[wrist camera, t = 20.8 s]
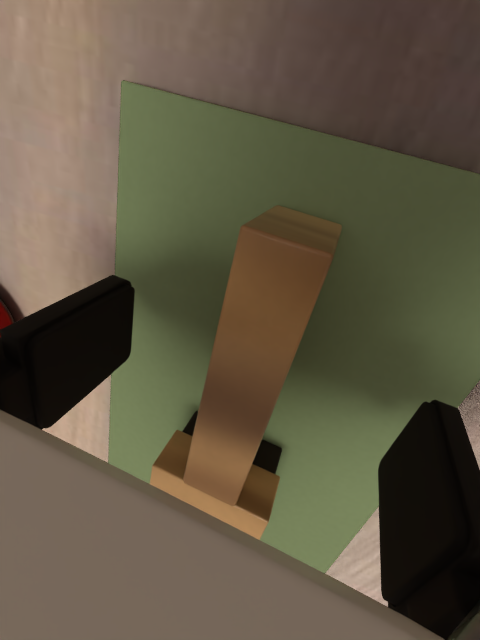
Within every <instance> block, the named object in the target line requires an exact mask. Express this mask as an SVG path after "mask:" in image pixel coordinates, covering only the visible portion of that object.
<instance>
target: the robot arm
mask: <svg viewBox="0 0 480 640" xmlns="http://www.w3.org/2000/svg"><path fill="white" fill-rule="evenodd" d="M134 297H135V289H134V288H133V287H132V285H131V282H130V281H128V280H126V279H123V278H120V277H118V276H115V275H111V276H109V277H107V278H105V279H103V280H101V281H99V282H97V283H95V284H93V285H90V286H88V287H86V288H84V289H82V290H80V291H78V292H76V293H74V294H72V295H70V296H68V297H66V298H64V299H62V300H60V301H58V302H56V303H54V304H52V305H50V306H48V307H45V308H43V309H41V310H39V311H37V312H35V313H33V314H31V315H29V316H27V317H25V318H23V319H21V320H19V321H17V322H15V323H13V324H11V325H9V326H7V327H5V328H3V329H0V335H1V337H0V640H480V470H479V467H478V464H477V461H476V458H475V455H474V452H473V449H472V446H471V444H470V441H469V438H468V435H467V432H466V429H465V426H464V423H463V421H462V418H461V415H460V412H459V410H458V408H456V407H454V406H451V405H448V404H446V403H443V402H441V401H438V400H432V401H431V402H430V403H429V402H426V401H425V402H423V403H422V404H421V405H420V407H419V408H418V409H417V411H416V412H415V414H414V415H413V416H412V418H411V419H410V421H409V422H408V423H407V425H406V426H405V427H404V429H403V430H402V432H401V433H400V434H399V436H398V437H397V438H396V440H395V441H394V443H393V444H392V445H391V447H390V448H389V449H388V451H387V452H386V454H385V455H384V456H383V458H382V459H381V461H380V464H379V467H378V490H379V524H380V559H381V591H382V596H383V599H384V600H386V601H388V607H387V606H385V605H383V604H381V603H379V602H377V601H375V600H373V599H372V598H370V597H368V596H366V595H364V594H362V593H360V592H359V591H357V590H355V589H353V588H351V587H349V586H347V585H345V584H344V583H342V582H340V581H338V580H336V579H334V578H332V577H330V576H328V575H326V574H324V573H323V572H321V571H319V570H317V569H315V568H313V567H311V566H309V565H307V564H305V563H303V562H301V561H299V560H297V559H295V558H293V557H291V556H289V555H288V554H286V553H284V552H282V551H280V550H278V549H276V548H274V547H272V546H270V545H268V544H266V543H264V542H262V541H260V540H258V539H256V538H254V537H253V536H251V535H249V534H247V533H245V532H243V531H241V530H239V529H237V528H235V527H233V526H231V525H229V524H227V523H225V522H223V521H221V520H219V519H217V518H215V517H213V516H212V515H210V514H208V513H206V512H204V511H202V510H200V509H198V508H196V507H194V506H192V505H190V504H188V503H186V502H184V501H182V500H180V499H178V498H176V497H174V496H172V495H170V494H168V493H166V492H164V491H162V490H160V489H158V488H156V487H154V486H152V485H150V484H149V483H147V482H145V481H143V480H141V479H139V478H137V477H135V476H133V475H131V474H129V473H127V472H125V471H123V470H121V469H119V468H117V467H115V466H113V465H111V464H109V463H107V462H105V461H103V460H101V459H99V458H97V457H95V456H93V455H91V454H89V453H87V452H85V451H83V450H81V449H79V448H77V447H75V446H73V445H71V444H69V443H67V442H65V441H63V440H61V439H59V438H57V437H55V436H53V435H51V434H49V433H47V432H45V431H43V430H42V429H43V428H49V427H51V426H52V425H53V424H54V423H56V422H57V421H58V420H59V419H60V418H61V417H62V416H64V415H65V414H66V413H67V412H68V411H69V410H71V409H72V408H73V407H74V406H75V405H76V404H77V403H79V402H80V401H81V400H82V399H83V398H84V397H85V396H87V395H88V394H89V393H90V392H91V391H92V390H93V389H95V388H96V387H97V386H98V385H99V384H100V383H101V382H103V381H104V380H105V379H106V378H107V377H108V376H109V375H111V374H112V373H113V372H114V371H115V370H116V369H118V368H119V367H120V366H121V365H122V364H123V363H124V362H126V360H127V359H128V358H129V356H130V353H131V345H132V329H133V313H134Z"/></svg>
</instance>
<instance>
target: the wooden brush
mask: <svg viewBox="0 0 480 640" xmlns="http://www.w3.org/2000/svg"><path fill="white" fill-rule="evenodd" d="M341 230H342V226H341V225H340V224H337V223H334V222H331V221H328V220H324V219H321V218H318V217H315V216H312V215H308V214H305V213H302V212H299V211H295V210H292V209H289V208H286V207H282V206H279V205H276V206H274V207H273V208H271V209H269V210H267V211H266V212H264V213H262V214H261V215H259V216H257V217H255V218H254V219H252V220H250V221H249V222H247V223H245V224H243V225H242V226H241V228H240V231H239V235H238V240H237V244H236V249H235V253H234V257H233V262H232V266H231V270H230V275H229V279H228V284H227V288H226V292H225V297H224V301H223V305H222V310H221V314H220V319H219V323H218V327H217V332H216V336H215V340H214V345H213V349H212V354H211V358H210V362H209V367H208V371H207V375H206V380H205V384H204V389H203V393H202V397H201V402H200V406H199V411H195V413H194V414H193V416H192V417H191V419H190V420H189V422H188V423H187V425H186V426H185V428H184V430H183V431H179V430H176V431H175V433H174V434H173V436H172V437H171V439H170V440H169V441H168V443H167V444H166V446H165V447H164V449H163V450H162V452H161V453H160V455H159V456H158V458H157V459H156V461H155V462H154V464H153V465H152V471H151V478H150V485H152V486H154V487H156V488H158V489H160V490H162V491H164V492H166V493H168V494H170V495H172V496H174V497H176V498H178V499H180V500H182V501H184V502H186V503H188V504H190V505H192V506H194V507H196V508H198V509H200V510H202V511H204V512H206V513H208V514H210V515H212V516H213V517H215V518H217V519H219V520H221V521H223V522H225V523H227V524H229V525H231V526H233V527H235V528H237V529H239V530H241V531H243V532H245V533H247V534H249V535H251V536H253V537H254V538H256V539H258V540H260V538H261V536H262V534H263V532H264V530H265V528H266V526H267V525H268V523H269V520H270V516H271V512H272V508H273V504H274V500H275V496H276V492H277V489H278V485H279V481H280V476H278V475H276V471H277V467H278V463H279V460H280V456H281V452H282V448H281V447H278V446H276V445H274V444H271V443H269V442H267V441H265V440H262V438H263V435H264V433H265V430H266V428H267V425H268V423H269V420H270V418H271V415H272V413H273V410H274V407H275V405H276V402H277V400H278V397H279V395H280V392H281V390H282V387H283V385H284V382H285V380H286V377H287V374H288V372H289V369H290V367H291V364H292V362H293V359H294V357H295V354H296V352H297V349H298V347H299V344H300V341H301V339H302V336H303V334H304V331H305V329H306V326H307V324H308V321H309V319H310V316H311V314H312V311H313V309H314V306H315V303H316V301H317V298H318V296H319V293H320V291H321V288H322V286H323V283H324V281H325V278H326V276H327V273H328V270H329V268H330V265H331V263H332V260H333V258H334V254H335V251H336V247H337V244H338V240H339V237H340V234H341Z"/></svg>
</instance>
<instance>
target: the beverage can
mask: <svg viewBox="0 0 480 640" xmlns="http://www.w3.org/2000/svg"><path fill="white" fill-rule="evenodd" d="M13 323H15V322H14V320H13V318H12V316H11V314H10V312H9V310H8V309H7V307H6V306H5V304H4V303H3V302H2V300H1V299H0V329H3V328H5V327H7V326H9V325H11V324H13ZM0 337H1V335H0Z"/></svg>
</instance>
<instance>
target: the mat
mask: <svg viewBox="0 0 480 640" xmlns="http://www.w3.org/2000/svg"><path fill="white" fill-rule="evenodd" d="M276 205H279V206H282V207H286V208H289V209H292V210H295V211H299V212H302V213H305V214H308V215H312V216H315V217H318V218H321V219H324V220H328V221H331V222H334V223H337V224H340V225H341V226H342V230H341V234H340V237H339V240H338V244H337V247H336V251H335V254H334V258H333V260H332V263H331V265H330V268H329V270H328V273H327V276H326V278H325V281H324V283H323V286H322V288H321V291H320V293H319V296H318V298H317V301H316V303H315V306H314V309H313V311H312V314H311V316H310V319H309V321H308V324H307V326H306V329H305V331H304V334H303V336H302V339H301V341H300V344H299V347H298V349H297V352H296V354H295V357H294V359H293V362H292V364H291V367H290V369H289V372H288V374H287V377H286V380H285V382H284V385H283V387H282V390H281V392H280V395H279V397H278V400H277V402H276V405H275V407H274V410H273V413H272V415H271V418H270V420H269V423H268V425H267V428H266V430H265V433H264V435H263V438H262V440H265V441H267V442H269V443H271V444H274V445H276V446H278V447H281V448H282V452H281V456H280V460H279V463H278V467H277V471H276V475H278V476H280V481H279V485H278V489H277V492H276V496H275V500H274V504H273V508H272V512H271V516H270V520H269V523H268V525H267V526H266V528H265V530H264V532H263V534H262V536H261V538H260V541H262V542H264V543H266V544H268V545H270V546H272V547H274V548H276V549H278V550H280V551H282V552H284V553H286V554H288V555H289V556H291V557H293V558H295V559H297V560H299V561H301V562H303V563H305V564H307V565H309V566H311V567H313V568H315V569H317V570H319V571H321V572H323V573H324V574H325V573H326V571H327V570H328V569H329V568H330V566H331V565H332V564H333V563H334V561H335V560H336V559H337V558H338V556H339V555H340V554H341V553H342V551H343V550H344V549H345V548H346V546H347V545H348V544H349V543H350V541H351V540H352V539H353V538H354V536H355V535H356V534H357V533H358V531H359V530H360V529H361V528H362V526H363V525H364V524H365V523H366V521H367V520H368V519H369V518H370V516H371V515H372V514H373V513H374V511H375V510H376V509H377V508H378V506H379V490H378V467H379V464H380V461H381V459H382V458H383V456H384V455H385V454H386V452H387V451H388V449H389V448H390V447H391V445H392V444H393V443H394V441H395V440H396V438H397V437H398V436H399V434H400V433H401V432H402V430H403V429H404V427H405V426H406V425H407V423H408V422H409V421H410V419H411V418H412V416H413V415H414V414H415V412H416V411H417V409H418V408H419V407H420V405H421V404H422V403H423V402H425V401H426V402H429V403H430V402H431V401H432V400H438V401H441V402H443V403H446V404H448V405H451V406H454V407H456V408H458V406H459V405H460V404H461V403H462V401H463V400H464V399H465V398H466V396H467V395H468V394H469V393H470V391H471V390H472V389H473V388H474V386H475V385H476V384H477V383H478V381H479V380H480V174H478V173H474V172H470V171H466V170H463V169H459V168H455V167H451V166H447V165H444V164H440V163H436V162H432V161H428V160H425V159H421V158H417V157H413V156H409V155H406V154H402V153H398V152H394V151H390V150H387V149H383V148H379V147H375V146H371V145H368V144H364V143H360V142H356V141H352V140H349V139H345V138H341V137H337V136H333V135H330V134H326V133H322V132H318V131H314V130H311V129H307V128H303V127H299V126H295V125H292V124H288V123H284V122H280V121H276V120H273V119H269V118H265V117H261V116H257V115H254V114H250V113H246V112H242V111H238V110H235V109H231V108H227V107H223V106H219V105H216V104H212V103H208V102H204V101H200V100H197V99H193V98H189V97H185V96H181V95H178V94H174V93H170V92H166V91H162V90H159V89H155V88H151V87H147V86H143V85H140V84H136V83H132V82H128V81H124V80H123V81H122V82H121V106H120V135H119V164H118V194H117V223H116V252H115V276H118V277H120V278H123V279H126V280H128V281H130V282H131V285H132V287H133V288H134V289H135V297H134V313H133V329H132V345H131V353H130V356H129V358H128V359H127V360H126V362H124V363H123V364H122V365H121V366H120V367H119V368H118V369H116V370H115V371H114V372H113V373H112V374H111V398H110V427H109V456H108V463H109V464H111V465H113V466H115V467H117V468H119V469H121V470H123V471H125V472H127V473H129V474H131V475H133V476H135V477H137V478H139V479H141V480H143V481H145V482H147V483H149V484H150V478H151V471H152V465H153V464H154V462H155V461H156V459H157V458H158V456H159V455H160V453H161V452H162V450H163V449H164V447H165V446H166V444H167V443H168V441H169V440H170V439H171V437H172V436H173V434H174V433H175V431H176V430H179V431H183V430H184V428H185V426H186V425H187V423H188V422H189V420H190V419H191V417H192V416H193V414H194V413H195V411H199V406H200V402H201V397H202V393H203V389H204V384H205V380H206V375H207V371H208V367H209V362H210V358H211V354H212V349H213V345H214V340H215V336H216V332H217V327H218V323H219V319H220V314H221V310H222V305H223V301H224V297H225V292H226V288H227V284H228V279H229V275H230V270H231V266H232V262H233V257H234V253H235V249H236V244H237V240H238V235H239V231H240V228H241V226H242V225H243V224H245V223H247V222H249V221H250V220H252V219H254V218H255V217H257V216H259V215H261V214H262V213H264V212H266V211H267V210H269V209H271V208H273V207H274V206H276Z"/></svg>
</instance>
